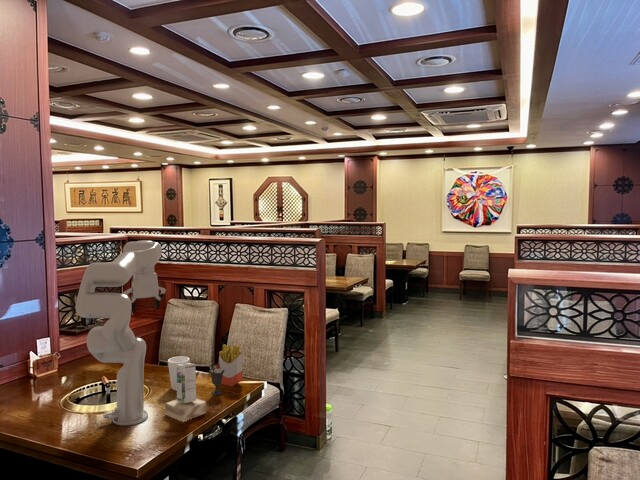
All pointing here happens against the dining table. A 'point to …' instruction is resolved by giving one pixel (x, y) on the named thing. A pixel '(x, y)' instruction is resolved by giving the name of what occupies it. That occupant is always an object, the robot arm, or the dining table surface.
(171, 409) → the riser block
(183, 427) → the dining table surface
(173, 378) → the foam cup
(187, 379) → the syrup box
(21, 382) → the dining table surface
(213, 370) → the sundae
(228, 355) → the french fries container
